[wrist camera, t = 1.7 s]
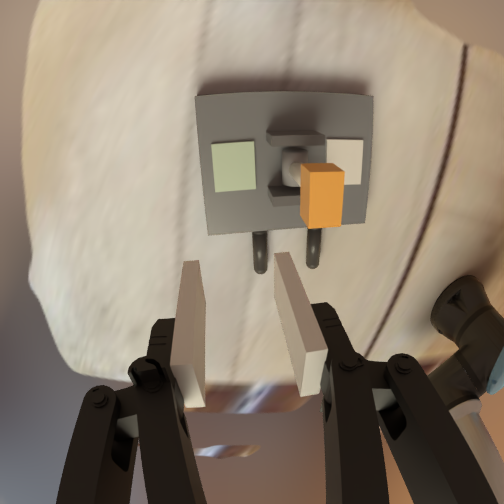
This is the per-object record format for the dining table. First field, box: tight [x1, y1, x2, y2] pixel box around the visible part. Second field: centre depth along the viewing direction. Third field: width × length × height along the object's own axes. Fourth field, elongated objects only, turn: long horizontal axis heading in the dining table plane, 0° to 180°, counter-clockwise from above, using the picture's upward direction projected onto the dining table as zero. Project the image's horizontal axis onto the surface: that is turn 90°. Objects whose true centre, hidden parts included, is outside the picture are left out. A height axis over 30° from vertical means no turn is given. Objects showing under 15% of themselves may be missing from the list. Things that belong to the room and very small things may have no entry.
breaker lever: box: [282, 148, 345, 229], centre depth 31 cm, size 3×5×13 cm, turn 3°
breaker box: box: [195, 91, 373, 274], centre depth 38 cm, size 22×26×7 cm
